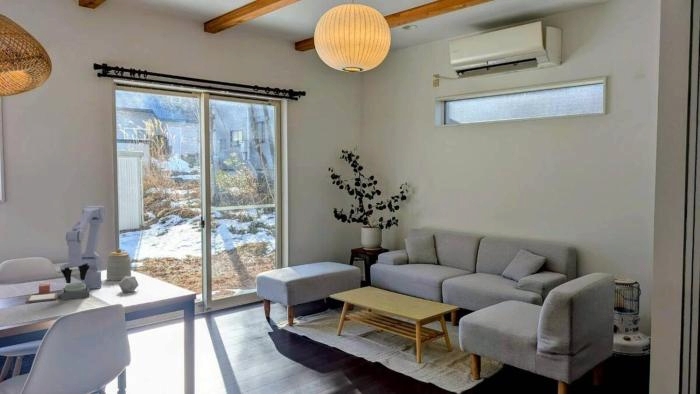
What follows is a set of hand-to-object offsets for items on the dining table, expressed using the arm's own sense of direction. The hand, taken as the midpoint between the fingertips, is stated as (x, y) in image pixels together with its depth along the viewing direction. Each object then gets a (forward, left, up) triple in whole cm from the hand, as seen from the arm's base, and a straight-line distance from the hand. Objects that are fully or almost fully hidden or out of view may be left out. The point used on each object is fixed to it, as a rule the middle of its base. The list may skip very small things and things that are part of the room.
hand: (75, 281), depth 240 cm
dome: (0, 0, -5) cm, 5 cm away
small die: (+14, -11, -7) cm, 19 cm away
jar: (-21, -32, -7) cm, 39 cm away
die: (-24, +3, -7) cm, 25 cm away
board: (+14, 0, -7) cm, 16 cm away
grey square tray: (0, 0, -7) cm, 7 cm away
